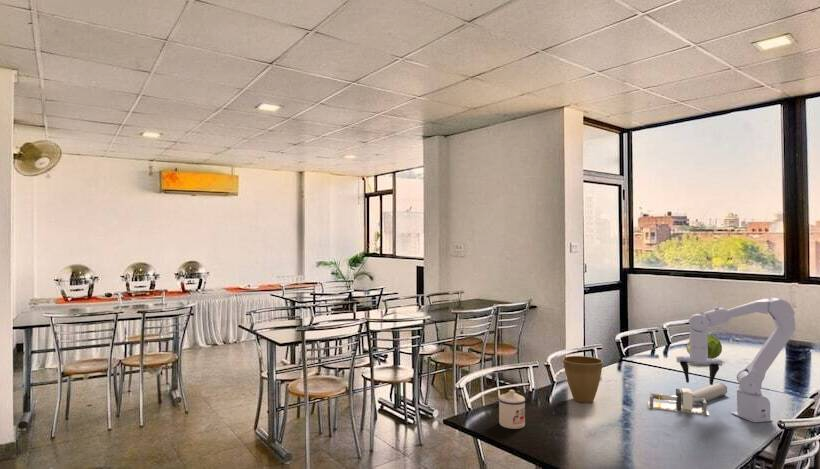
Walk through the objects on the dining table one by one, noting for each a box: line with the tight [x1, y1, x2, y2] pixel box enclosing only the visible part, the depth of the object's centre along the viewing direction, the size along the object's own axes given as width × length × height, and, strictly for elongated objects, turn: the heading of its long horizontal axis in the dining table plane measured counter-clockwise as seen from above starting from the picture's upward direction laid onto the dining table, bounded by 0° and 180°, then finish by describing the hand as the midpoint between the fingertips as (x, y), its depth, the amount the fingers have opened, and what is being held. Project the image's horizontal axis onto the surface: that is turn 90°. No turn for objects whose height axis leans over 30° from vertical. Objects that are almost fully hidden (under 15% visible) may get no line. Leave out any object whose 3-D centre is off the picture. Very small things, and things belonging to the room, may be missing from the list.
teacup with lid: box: [498, 389, 526, 430], centre depth 165 cm, size 12×9×12 cm
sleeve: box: [680, 387, 693, 410], centre depth 179 cm, size 3×6×6 cm, turn 156°
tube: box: [691, 381, 728, 407], centre depth 190 cm, size 5×5×25 cm
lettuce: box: [686, 333, 723, 359], centre depth 254 cm, size 14×23×13 cm, turn 128°
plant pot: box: [562, 355, 604, 404], centre depth 190 cm, size 15×15×16 cm
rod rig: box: [647, 392, 710, 416], centre depth 180 cm, size 20×8×5 cm, turn 66°
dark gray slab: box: [675, 388, 682, 410], centre depth 180 cm, size 1×6×6 cm, turn 156°
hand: (699, 383), depth 178 cm, fingers open, 7 cm apart
